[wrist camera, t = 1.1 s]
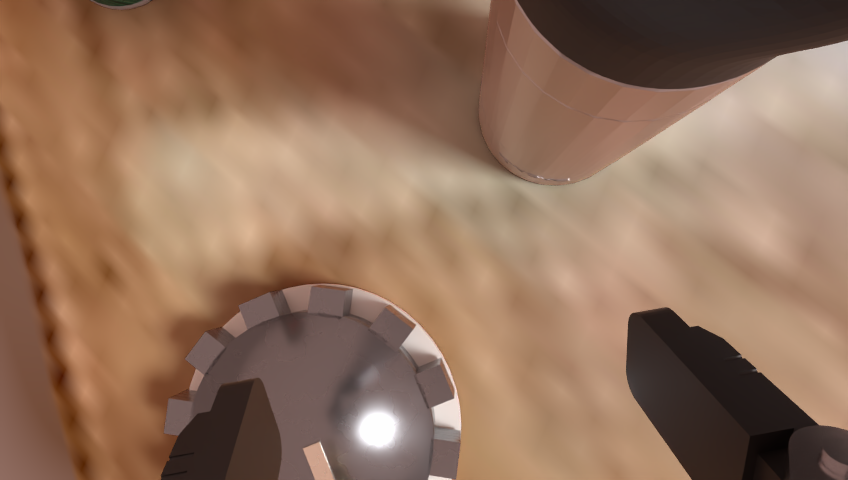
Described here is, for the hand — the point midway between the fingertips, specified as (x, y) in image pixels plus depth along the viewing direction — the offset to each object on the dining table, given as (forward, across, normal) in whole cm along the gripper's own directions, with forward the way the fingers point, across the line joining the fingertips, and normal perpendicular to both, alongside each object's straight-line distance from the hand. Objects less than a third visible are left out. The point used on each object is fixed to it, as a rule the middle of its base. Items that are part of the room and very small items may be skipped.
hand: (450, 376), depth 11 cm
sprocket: (+16, +7, +15) cm, 23 cm away
